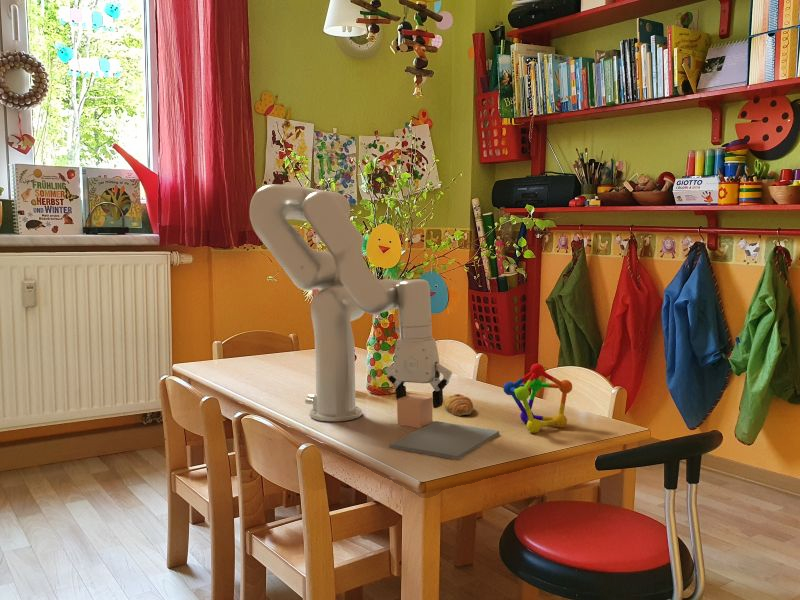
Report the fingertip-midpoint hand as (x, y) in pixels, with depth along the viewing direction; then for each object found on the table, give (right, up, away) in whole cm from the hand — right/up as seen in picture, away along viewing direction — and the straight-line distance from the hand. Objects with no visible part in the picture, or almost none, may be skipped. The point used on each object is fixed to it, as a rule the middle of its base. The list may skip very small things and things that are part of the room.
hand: (419, 405), depth 171 cm
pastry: (+10, -3, +11) cm, 16 cm away
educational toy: (+26, -5, -3) cm, 27 cm away
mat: (+5, -6, -14) cm, 16 cm away
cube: (-1, -4, +1) cm, 5 cm away
